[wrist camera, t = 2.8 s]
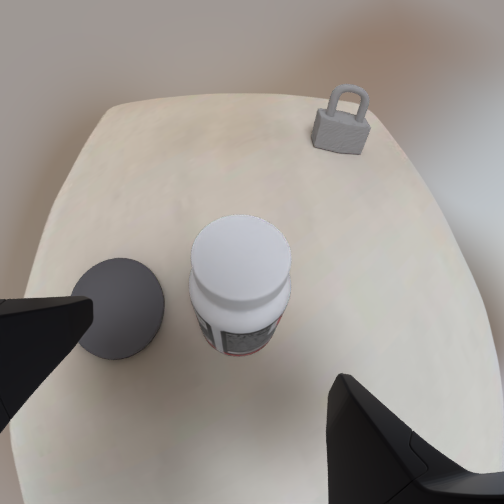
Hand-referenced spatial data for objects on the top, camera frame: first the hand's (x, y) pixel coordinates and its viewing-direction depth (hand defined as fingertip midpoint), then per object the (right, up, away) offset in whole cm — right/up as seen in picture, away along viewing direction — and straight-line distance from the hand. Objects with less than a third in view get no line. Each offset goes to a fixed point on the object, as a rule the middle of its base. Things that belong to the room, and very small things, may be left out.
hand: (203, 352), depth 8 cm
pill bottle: (0, -2, +13) cm, 13 cm away
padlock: (+13, +18, +27) cm, 35 cm away
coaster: (-10, -1, +12) cm, 16 cm away
